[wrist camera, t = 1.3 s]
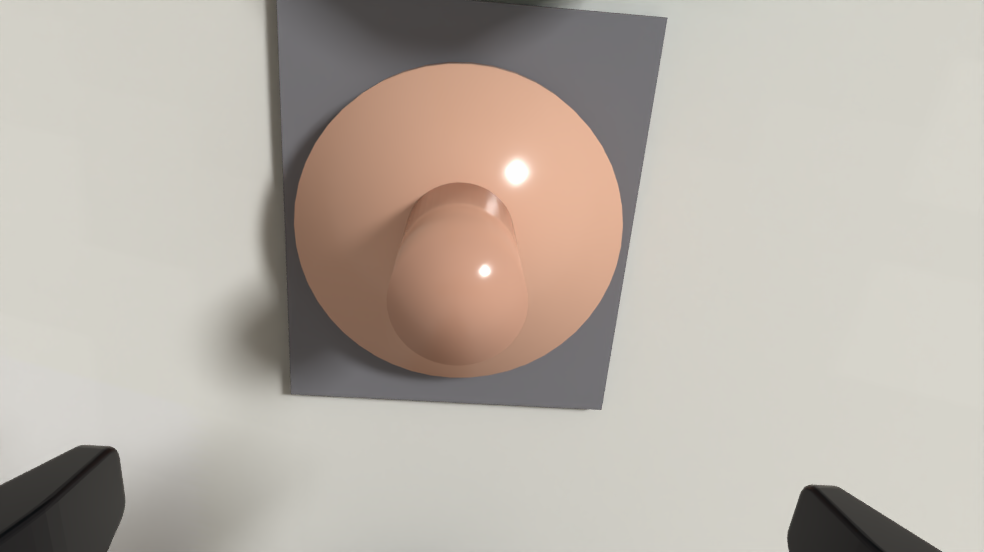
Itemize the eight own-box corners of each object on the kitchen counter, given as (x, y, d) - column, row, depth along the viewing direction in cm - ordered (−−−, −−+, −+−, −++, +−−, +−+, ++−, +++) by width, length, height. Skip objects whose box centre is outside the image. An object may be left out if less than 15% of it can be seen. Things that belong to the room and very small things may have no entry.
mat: (598, 403, 22) (601, 409, 22) (294, 387, 21) (290, 394, 21) (663, 17, 18) (667, 17, 17) (280, -17, 17) (275, -17, 17)
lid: (592, 368, 21) (632, 483, 16) (306, 353, 21) (253, 467, 16) (639, 75, 18) (707, 104, 13) (298, 47, 17) (227, 65, 12)
